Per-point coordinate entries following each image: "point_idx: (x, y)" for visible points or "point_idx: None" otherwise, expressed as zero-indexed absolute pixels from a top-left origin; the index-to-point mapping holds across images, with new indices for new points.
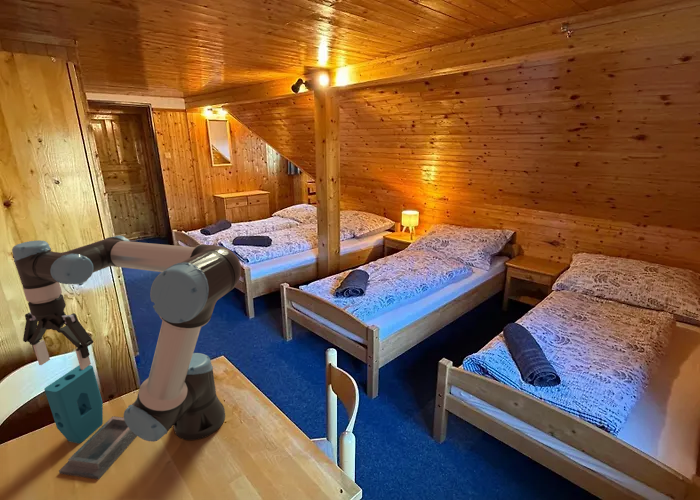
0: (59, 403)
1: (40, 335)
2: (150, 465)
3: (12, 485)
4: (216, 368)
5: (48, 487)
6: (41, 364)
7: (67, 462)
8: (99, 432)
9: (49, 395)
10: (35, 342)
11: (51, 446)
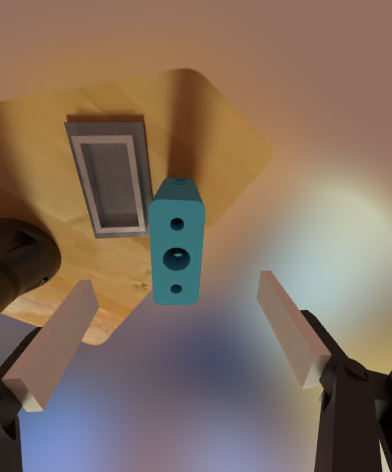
0: (159, 191)
1: (323, 455)
2: (12, 164)
3: (200, 85)
4: (94, 335)
5: (135, 92)
6: (262, 273)
7: (144, 140)
8: (135, 198)
9: (184, 196)
10: (331, 376)
11: (207, 169)
